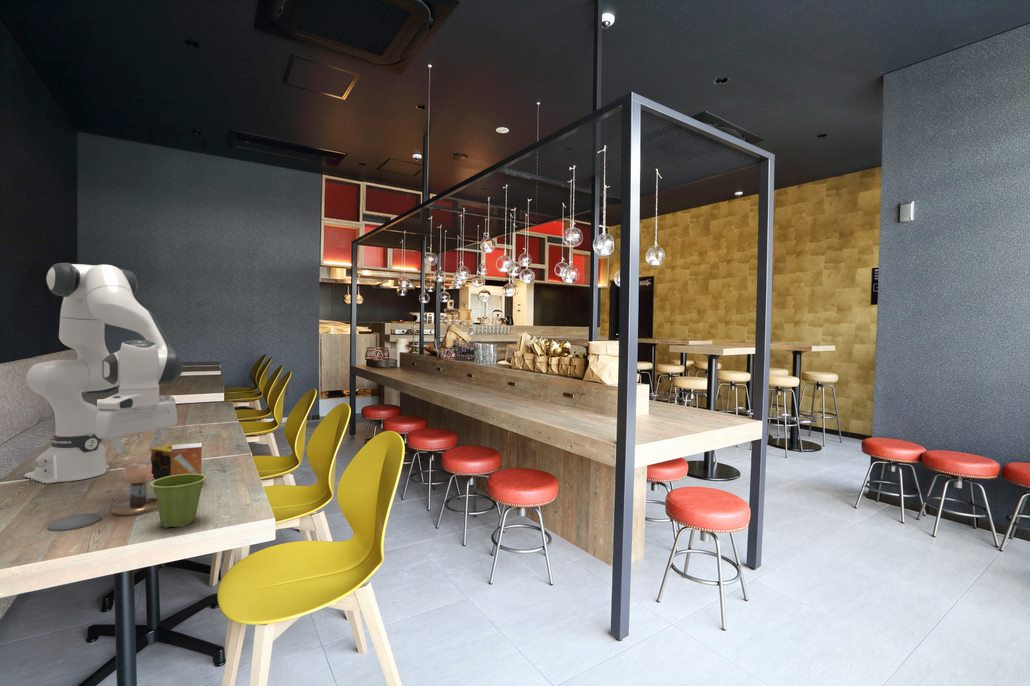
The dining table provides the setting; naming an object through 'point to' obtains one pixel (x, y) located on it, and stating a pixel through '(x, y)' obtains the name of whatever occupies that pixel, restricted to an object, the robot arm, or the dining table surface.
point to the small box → (186, 459)
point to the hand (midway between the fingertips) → (139, 448)
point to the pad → (74, 521)
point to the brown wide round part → (136, 502)
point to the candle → (161, 461)
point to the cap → (137, 473)
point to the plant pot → (178, 498)
